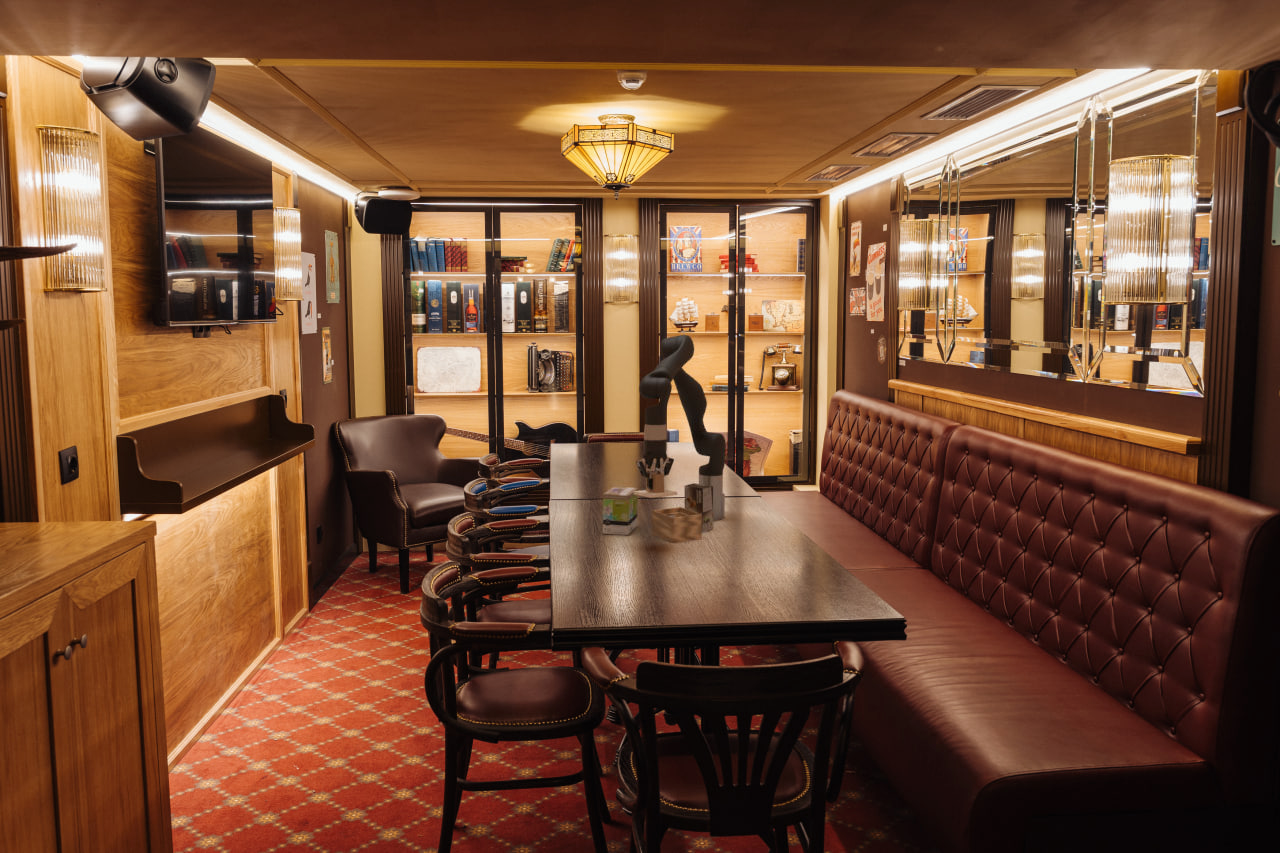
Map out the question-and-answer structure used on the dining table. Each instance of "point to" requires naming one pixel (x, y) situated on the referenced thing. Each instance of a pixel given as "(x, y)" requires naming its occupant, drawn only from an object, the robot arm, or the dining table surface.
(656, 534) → the crate
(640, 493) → the lid
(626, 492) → the tea box
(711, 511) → the coffee box
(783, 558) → the dining table surface
